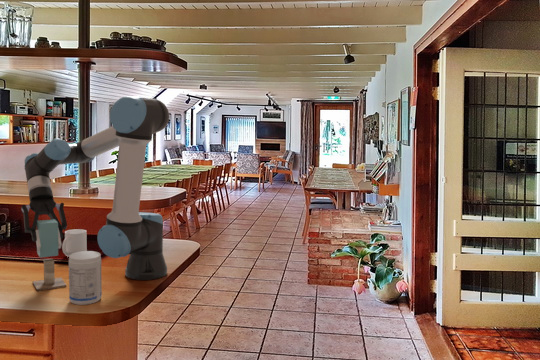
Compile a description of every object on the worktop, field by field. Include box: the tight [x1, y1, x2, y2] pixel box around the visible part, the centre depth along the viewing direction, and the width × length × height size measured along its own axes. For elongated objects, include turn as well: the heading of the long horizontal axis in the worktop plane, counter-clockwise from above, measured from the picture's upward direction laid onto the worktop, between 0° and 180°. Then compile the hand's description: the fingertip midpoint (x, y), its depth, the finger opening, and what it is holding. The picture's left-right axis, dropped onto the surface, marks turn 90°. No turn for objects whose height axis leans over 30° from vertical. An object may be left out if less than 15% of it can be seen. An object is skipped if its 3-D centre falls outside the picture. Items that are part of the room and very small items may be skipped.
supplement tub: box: [68, 250, 103, 306], centre depth 146 cm, size 10×10×15 cm
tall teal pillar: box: [36, 219, 59, 258], centre depth 158 cm, size 6×6×11 cm
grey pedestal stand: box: [32, 258, 67, 292], centre depth 159 cm, size 9×9×9 cm
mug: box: [61, 228, 88, 258], centre depth 193 cm, size 12×8×10 cm
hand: (49, 247), depth 155 cm, fingers closed on tall teal pillar, 6 cm apart
